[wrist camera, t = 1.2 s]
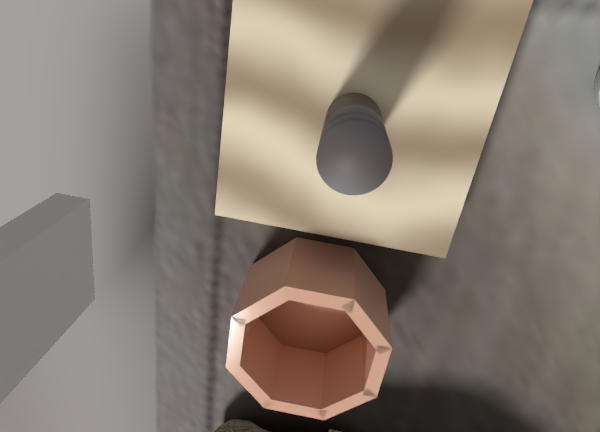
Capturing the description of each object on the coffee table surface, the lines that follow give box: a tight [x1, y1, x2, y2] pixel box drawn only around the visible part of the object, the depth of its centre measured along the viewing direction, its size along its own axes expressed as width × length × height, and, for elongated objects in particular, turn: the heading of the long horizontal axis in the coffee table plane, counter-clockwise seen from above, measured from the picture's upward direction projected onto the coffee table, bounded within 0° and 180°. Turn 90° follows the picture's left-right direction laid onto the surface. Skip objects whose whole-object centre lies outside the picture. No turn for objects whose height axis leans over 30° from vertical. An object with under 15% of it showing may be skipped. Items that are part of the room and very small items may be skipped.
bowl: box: [226, 237, 392, 420], centre depth 34 cm, size 11×11×7 cm
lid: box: [215, 0, 533, 258], centre depth 25 cm, size 16×16×11 cm
